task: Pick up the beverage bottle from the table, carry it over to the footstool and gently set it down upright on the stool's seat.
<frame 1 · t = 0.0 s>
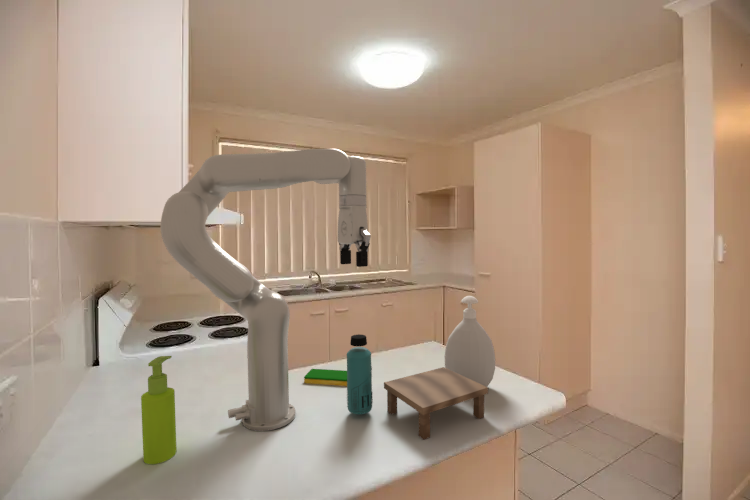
hand: (353, 265, 100), 37 cm above the worktop, tool pointing down, fingers open, 9 cm apart
soap dispenser: (161, 454, 75), on the worktop
beverage bottle: (359, 414, 91), on the worktop
dish sponge: (329, 382, 113), on the worktop
footstool: (434, 414, 91), on the worktop
soap bottle: (469, 386, 108), on the worktop
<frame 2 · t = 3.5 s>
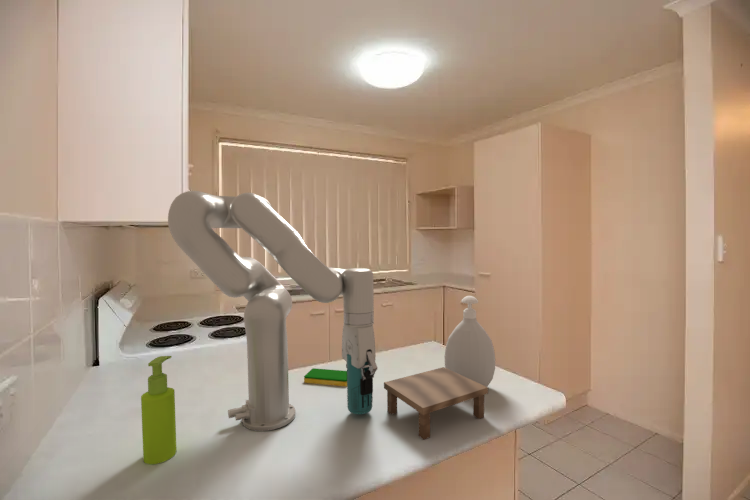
hand: (359, 387, 91), 7 cm above the worktop, tool pointing down, fingers closed on beverage bottle, 6 cm apart
beverage bottle: (359, 414, 91), on the worktop, touching gripper
everything else where it was.
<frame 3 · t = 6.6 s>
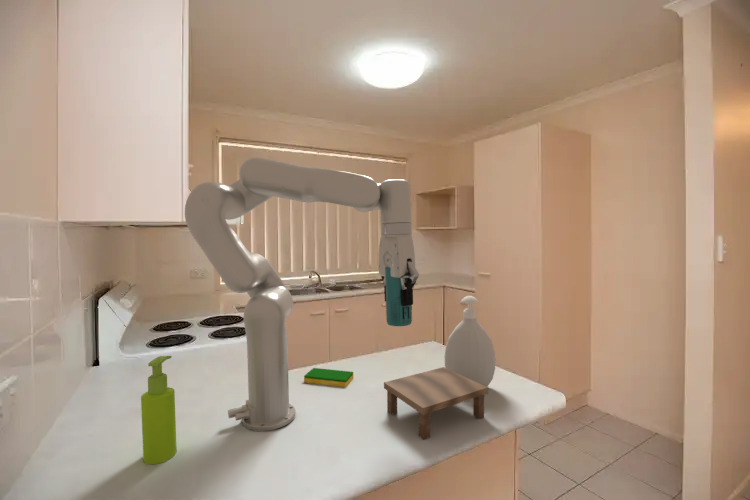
hand: (398, 302, 90), 28 cm above the worktop, tool pointing down, fingers closed on beverage bottle, 6 cm apart
beverage bottle: (399, 329, 90), point 21 cm above the worktop, touching gripper
everything else where it was.
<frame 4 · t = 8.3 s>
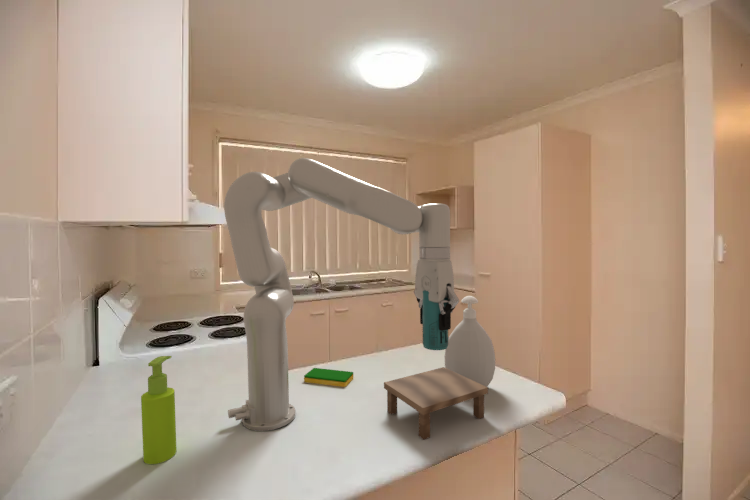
hand: (435, 325, 90), 22 cm above the worktop, tool pointing down, fingers closed on beverage bottle, 6 cm apart
beverage bottle: (435, 353, 90), point 16 cm above the worktop, touching gripper
everything else where it was.
when the fingers open (15 cm above the worktop, at t = 10.0 s): beverage bottle drops 1 cm, resting on footstool.
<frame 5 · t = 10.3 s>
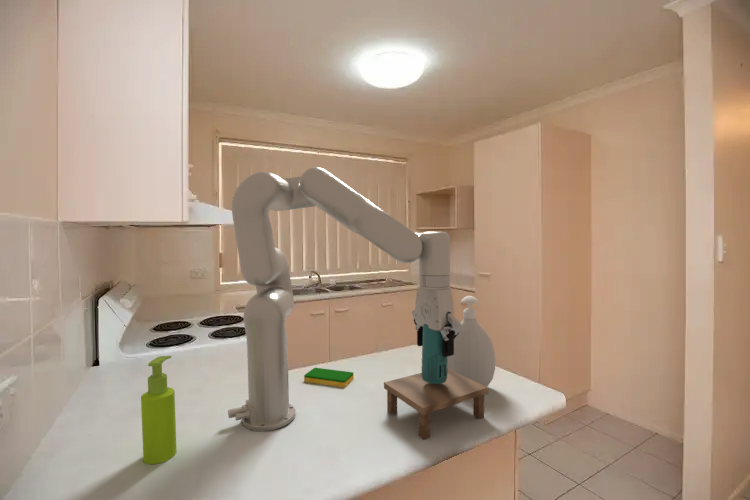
hand: (434, 350, 90), 16 cm above the worktop, tool pointing down, fingers open, 9 cm apart
beverage bottle: (433, 385, 90), point 7 cm above the worktop, touching footstool
everything else where it was.
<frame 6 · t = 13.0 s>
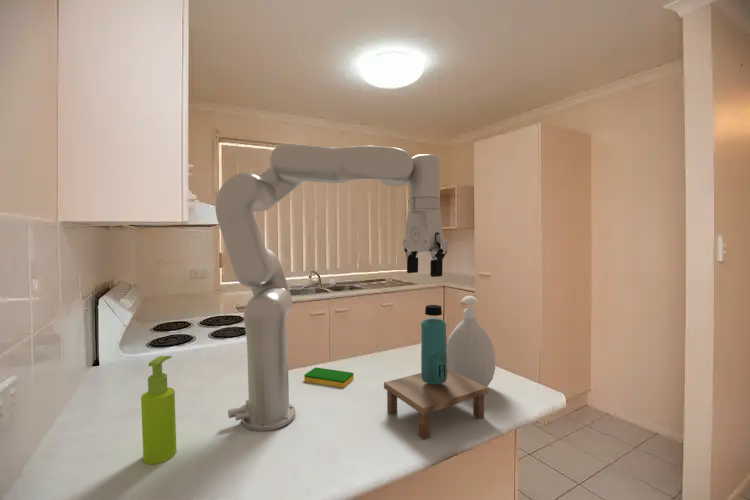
hand: (423, 274, 91), 35 cm above the worktop, tool pointing down, fingers open, 9 cm apart
nothing on the worktop moved.
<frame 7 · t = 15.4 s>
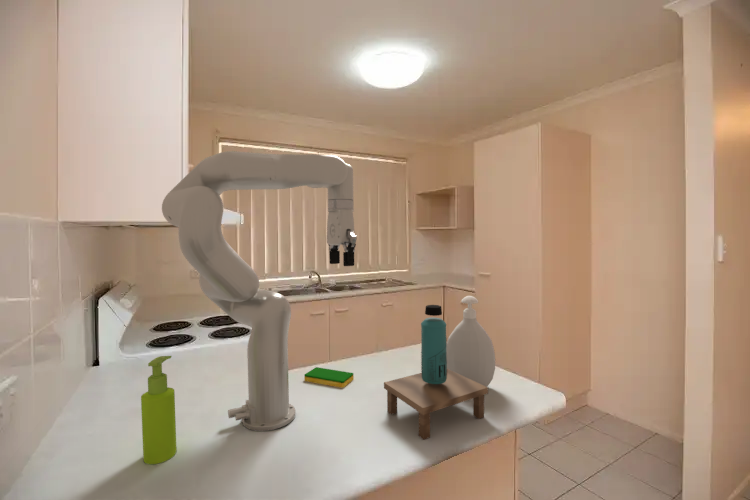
hand: (341, 264, 107), 36 cm above the worktop, tool pointing down, fingers open, 9 cm apart
nothing on the worktop moved.
at the end: beverage bottle inside the target area on the footstool (0.2 cm from its centre), point 7.3 cm above the footstool's base; beverage bottle tilted 0°; the gripper is holding nothing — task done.
